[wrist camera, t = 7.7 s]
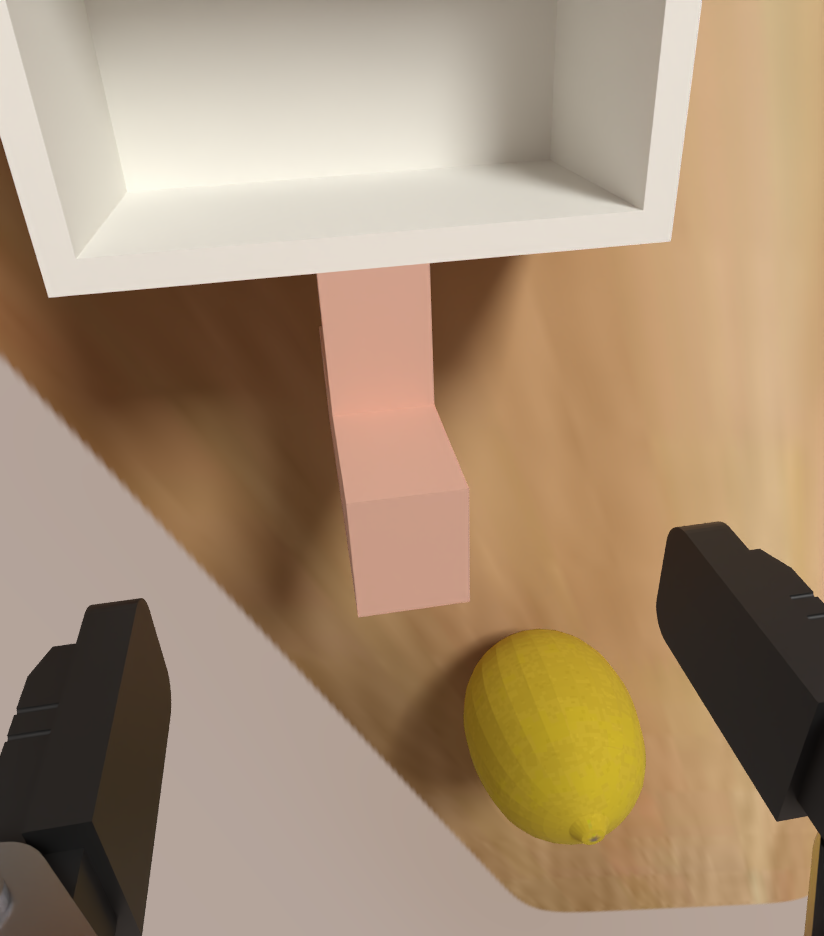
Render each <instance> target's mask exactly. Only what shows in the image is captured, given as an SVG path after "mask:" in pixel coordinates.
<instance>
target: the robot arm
mask: <svg viewBox="0 0 824 936" xmlns="http://www.w3.org/2000/svg"><path fill="white" fill-rule="evenodd" d="M656 611H657V619H658V624H659V627H660V630H661V633H662V636H663V638H664V640H665V642H666V643H667V645H668V647H669V648H670V650H671V651H672V653H673V655H674V656H675V658H676V659H677V661H678V663H679V664H680V666H681V668H682V669H683V671H684V672H685V674H686V676H687V677H688V679H689V681H690V682H691V684H692V685H693V687H694V689H695V690H696V692H697V693H698V695H699V697H700V698H701V700H702V702H703V703H704V705H705V706H706V708H707V710H708V711H709V713H710V714H711V716H712V718H713V719H714V721H715V723H716V724H717V726H718V727H719V729H720V731H721V732H722V734H723V735H724V737H725V739H726V740H727V742H728V744H729V745H730V747H731V748H732V750H733V752H734V753H735V755H736V757H737V758H738V760H739V761H740V763H741V765H742V766H743V768H744V769H745V771H746V773H747V774H748V776H749V778H750V779H751V781H752V782H753V784H754V786H755V787H756V789H757V790H758V792H759V794H760V795H761V797H762V799H763V800H764V802H765V803H766V805H767V807H768V808H769V810H770V811H771V813H772V815H773V816H774V818H775V820H776V821H777V822H778V821H783V820H788V819H794V818H799V817H805V816H808V817H809V819H810V820H811V822H812V823H813V825H814V826H815V828H816V829H817V831H818V832H817V835H816V837H815V840H814V844H813V851H812V861H811V871H810V882H809V892H808V902H807V913H806V923H805V933H804V936H824V603H823V602H822V601H821V600H820V599H819V598H818V597H814V595H813V591H812V590H811V589H810V588H809V587H808V586H807V585H806V583H805V582H804V581H803V580H802V579H801V578H800V577H799V576H798V575H797V574H796V573H795V571H794V570H793V569H792V568H791V567H789V566H787V565H786V564H784V563H782V562H781V561H779V560H777V559H776V558H774V557H772V556H771V555H769V554H767V553H766V552H764V551H763V550H761V549H755V550H749V549H748V548H747V547H746V546H745V545H744V543H743V542H742V541H741V540H740V539H739V538H738V537H737V535H736V534H735V533H734V532H733V531H732V530H731V529H730V527H729V526H728V525H726V524H725V523H723V522H711V523H704V524H696V525H689V526H682V527H675V528H673V529H672V530H671V531H670V532H669V534H668V537H667V542H666V548H665V554H664V560H663V565H662V571H661V577H660V583H659V589H658V595H657V602H656ZM170 715H171V690H170V683H169V676H168V671H167V668H166V665H165V661H164V658H163V654H162V651H161V647H160V644H159V641H158V638H157V634H156V631H155V627H154V624H153V621H152V617H151V614H150V610H149V607H148V605H147V603H146V601H145V600H144V599H143V598H139V599H133V600H125V601H117V602H110V603H103V604H95V605H90V606H89V607H88V608H87V610H86V612H85V615H84V618H83V622H82V625H81V629H80V632H79V636H78V639H77V642H76V644H69V645H62V646H55V647H52V648H51V650H50V651H49V652H48V653H47V654H46V655H45V657H44V658H43V659H42V660H41V661H40V662H39V664H38V665H37V666H36V667H35V669H34V670H33V671H32V672H31V673H30V674H29V676H28V677H27V680H26V683H25V686H24V689H23V691H22V694H21V697H20V700H19V703H18V706H17V715H14V717H13V720H12V723H11V726H10V729H9V732H8V735H7V736H8V741H7V742H5V743H4V746H3V749H2V752H1V755H0V936H142V931H143V923H144V916H145V908H146V900H147V893H148V884H149V877H150V870H151V862H152V854H153V846H154V839H155V831H156V823H157V816H158V807H159V800H160V793H161V784H162V777H163V769H164V762H165V754H166V747H167V738H168V731H169V723H170Z"/></svg>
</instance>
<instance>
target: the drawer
mask: <svg viewBox="0 0 824 936" xmlns="http://www.w3.org/2000/svg"><path fill="white" fill-rule="evenodd" d="M701 5H702V0H0V137H1V140H2V143H3V147H4V150H5V153H6V157H7V160H8V163H9V167H10V170H11V174H12V177H13V180H14V184H15V187H16V190H17V194H18V197H19V200H20V204H21V207H22V210H23V214H24V217H25V220H26V224H27V227H28V230H29V234H30V237H31V240H32V244H33V247H34V250H35V254H36V257H37V260H38V264H39V267H40V270H41V274H42V277H43V280H44V284H45V287H46V290H47V294H48V297H49V298H51V297H62V296H73V295H84V294H95V293H106V292H117V291H128V290H139V289H150V288H161V287H172V286H183V285H194V284H205V283H216V282H227V281H238V280H249V279H260V278H271V277H282V276H293V275H305V274H316V278H317V287H318V296H319V305H320V314H321V323H322V326H321V327H319V333H320V342H321V350H322V359H323V368H324V377H325V386H326V395H327V404H328V412H329V419H330V426H331V433H332V440H333V447H334V454H335V461H336V468H337V475H338V481H339V488H340V495H341V502H342V509H343V516H344V523H345V530H346V536H347V543H348V550H349V557H350V564H351V571H352V578H353V585H354V591H355V598H356V605H357V612H358V617H364V616H371V615H378V614H385V613H392V612H399V611H406V610H413V609H420V608H428V607H435V606H442V605H449V604H456V603H463V602H470V551H469V487H468V485H467V482H466V480H465V477H464V475H463V473H462V470H461V468H460V465H459V463H458V461H457V458H456V456H455V453H454V451H453V448H452V446H451V444H450V441H449V439H448V436H447V434H446V432H445V429H444V427H443V424H442V422H441V420H440V417H439V415H438V412H437V410H436V407H435V405H434V378H433V347H432V316H431V285H430V263H437V262H448V261H459V260H470V259H481V258H492V257H503V256H514V255H525V254H536V253H547V252H558V251H569V250H580V249H591V248H602V247H613V246H625V245H636V244H647V243H658V242H669V241H671V236H672V228H673V220H674V212H675V205H676V197H677V189H678V182H679V174H680V166H681V159H682V151H683V143H684V136H685V128H686V120H687V113H688V105H689V97H690V89H691V82H692V74H693V66H694V59H695V51H696V43H697V36H698V28H699V20H700V13H701Z"/></svg>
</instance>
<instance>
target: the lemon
mask: <svg viewBox="0 0 824 936" xmlns="http://www.w3.org/2000/svg"><path fill="white" fill-rule="evenodd" d="M463 716H464V729H465V735H466V740H467V744H468V747H469V751H470V755H471V758H472V761H473V764H474V767H475V769H476V772H477V774H478V776H479V778H480V780H481V782H482V784H483V786H484V787H485V789H486V791H487V792H488V794H489V796H490V797H491V798H492V800H493V801H494V803H495V804H496V805H497V807H498V808H499V809H500V810H501V812H502V813H503V814H504V815H505V816H506V817H507V819H508V820H509V821H511V822H512V823H513V824H514V825H516V826H517V827H518V828H520V829H521V830H523V831H524V832H526V833H528V834H530V835H532V836H533V837H535V838H539V839H542V840H545V841H549V842H552V843H558V844H570V845H572V844H582V843H584V844H587V845H592V844H596V843H598V842H600V841H601V840H602V839H603V838H604V836H605V835H606V834H608V833H610V832H611V831H612V830H614V829H615V828H616V827H617V826H618V825H620V824H621V823H622V822H623V820H624V819H625V818H626V817H627V816H628V814H629V813H630V812H631V810H632V808H633V807H634V805H635V803H636V801H637V799H638V797H639V794H640V792H641V789H642V787H643V781H644V774H645V766H646V754H645V746H644V740H643V735H642V731H641V728H640V724H639V720H638V717H637V713H636V710H635V707H634V704H633V702H632V699H631V697H630V695H629V693H628V691H627V689H626V687H625V685H624V683H623V682H622V681H621V679H620V678H619V676H618V675H617V673H616V672H615V671H614V670H613V668H612V667H611V666H610V664H609V663H608V662H607V661H606V660H605V658H604V657H603V656H602V655H601V654H600V653H599V652H598V651H596V650H595V649H594V648H592V647H591V646H589V645H588V644H586V643H585V642H583V641H582V640H580V639H579V638H577V637H574V636H572V635H569V634H566V633H563V632H559V631H556V630H547V629H534V630H526V631H521V632H518V633H515V634H512V635H510V636H508V637H506V638H504V639H502V640H500V641H499V642H498V643H496V644H495V645H494V646H493V647H492V648H490V649H489V650H488V651H487V652H486V653H485V654H484V656H483V657H482V658H481V659H480V661H479V662H478V663H477V665H476V666H475V668H474V671H473V673H472V675H471V677H470V680H469V682H468V685H467V689H466V693H465V703H464V715H463Z"/></svg>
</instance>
